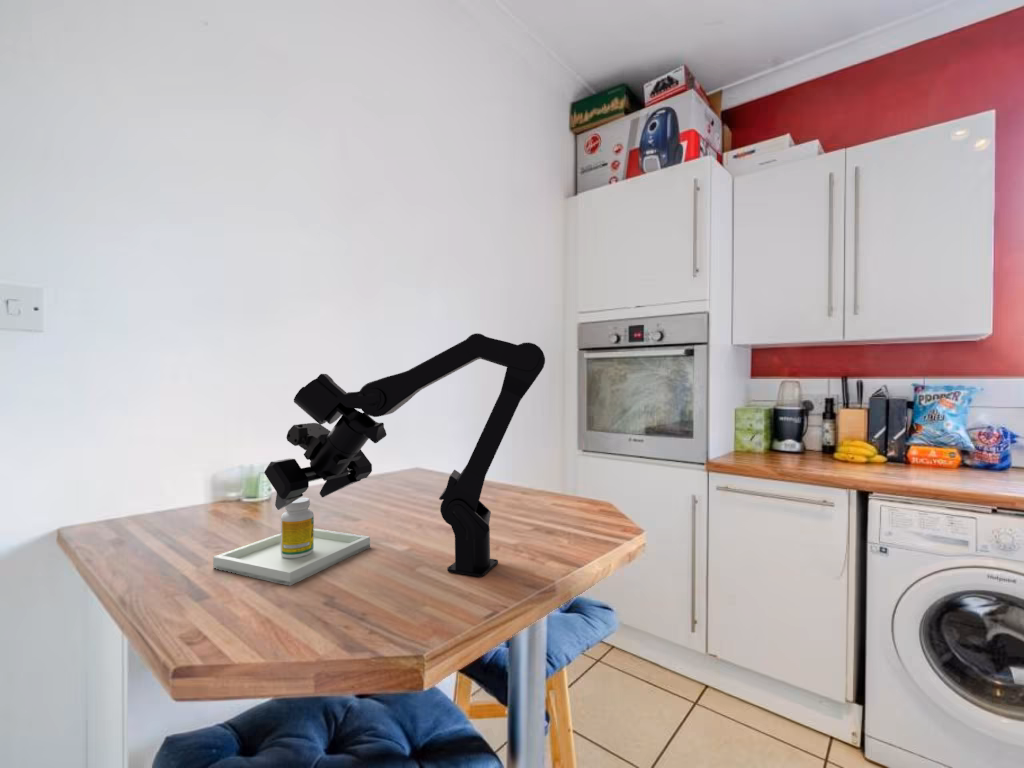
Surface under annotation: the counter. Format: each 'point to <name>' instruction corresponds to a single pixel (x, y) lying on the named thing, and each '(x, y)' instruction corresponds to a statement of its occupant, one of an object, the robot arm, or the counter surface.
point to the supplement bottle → (297, 529)
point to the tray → (271, 566)
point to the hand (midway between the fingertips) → (300, 501)
